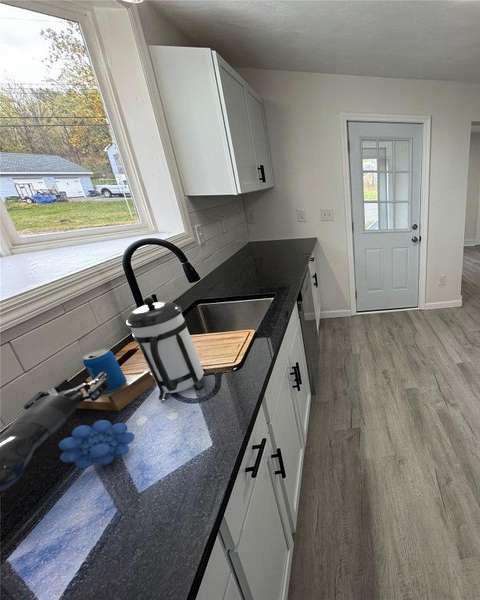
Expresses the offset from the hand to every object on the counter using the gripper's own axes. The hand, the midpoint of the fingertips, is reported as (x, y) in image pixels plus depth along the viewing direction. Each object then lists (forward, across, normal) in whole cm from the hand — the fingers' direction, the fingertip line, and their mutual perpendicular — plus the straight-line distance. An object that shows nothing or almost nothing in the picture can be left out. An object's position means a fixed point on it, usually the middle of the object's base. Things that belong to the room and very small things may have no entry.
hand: (85, 378), depth 84 cm
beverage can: (+8, 0, +9) cm, 12 cm away
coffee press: (+4, -19, +12) cm, 23 cm away
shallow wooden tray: (+9, +2, +12) cm, 15 cm away
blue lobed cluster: (-22, -11, +12) cm, 28 cm away
